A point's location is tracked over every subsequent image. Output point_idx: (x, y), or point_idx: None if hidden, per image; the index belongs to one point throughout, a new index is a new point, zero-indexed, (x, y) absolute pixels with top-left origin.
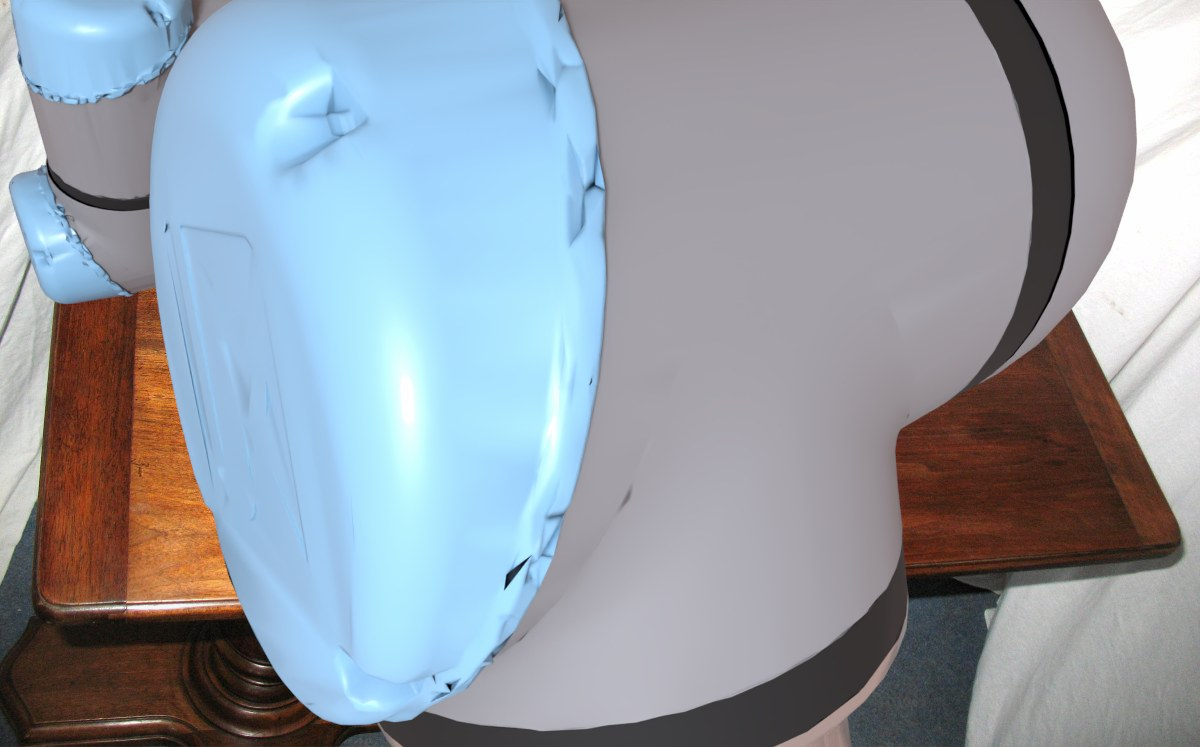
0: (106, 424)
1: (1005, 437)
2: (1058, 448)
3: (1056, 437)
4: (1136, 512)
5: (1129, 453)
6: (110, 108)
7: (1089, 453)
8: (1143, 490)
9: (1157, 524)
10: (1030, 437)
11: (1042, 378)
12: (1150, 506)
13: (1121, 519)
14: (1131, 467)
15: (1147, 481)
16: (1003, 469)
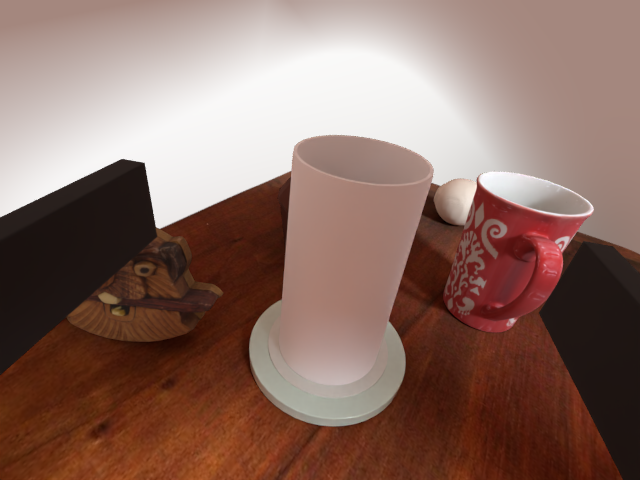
0: None
1: (566, 266)
2: (575, 253)
3: (566, 248)
4: (627, 255)
5: (578, 233)
6: None
7: (579, 245)
8: (608, 244)
9: (635, 254)
10: (566, 257)
11: None
12: (621, 248)
13: (634, 264)
14: (589, 238)
15: (600, 239)
16: None
